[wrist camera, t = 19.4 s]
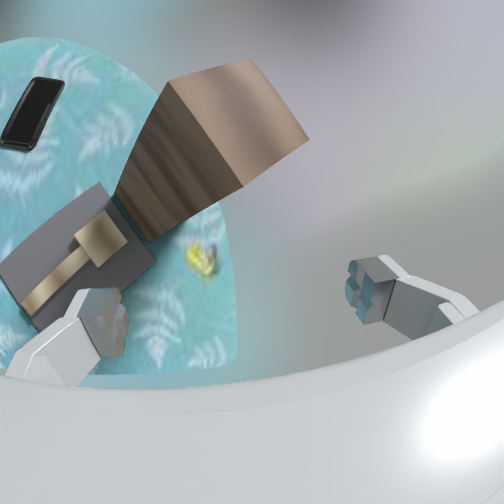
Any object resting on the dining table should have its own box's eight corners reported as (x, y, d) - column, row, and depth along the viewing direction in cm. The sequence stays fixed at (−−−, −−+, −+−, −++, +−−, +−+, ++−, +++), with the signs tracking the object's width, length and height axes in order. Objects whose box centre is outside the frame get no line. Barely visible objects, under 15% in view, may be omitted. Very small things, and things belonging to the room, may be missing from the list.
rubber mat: (58, 352, 31) (58, 352, 31) (-3, 267, 27) (-4, 267, 26) (155, 261, 42) (156, 261, 42) (99, 182, 38) (99, 181, 38)
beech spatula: (40, 324, 30) (38, 326, 28) (16, 292, 28) (13, 293, 27) (125, 243, 39) (127, 241, 38) (103, 213, 38) (104, 210, 36)
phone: (-2, 142, 26) (34, 75, 29) (-1, 145, 27) (34, 79, 30) (33, 149, 31) (67, 81, 34) (34, 152, 32) (66, 84, 34)
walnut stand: (148, 243, 42) (243, 186, 19) (113, 193, 39) (168, 81, 17) (192, 209, 47) (309, 139, 24) (160, 163, 45) (251, 59, 22)
